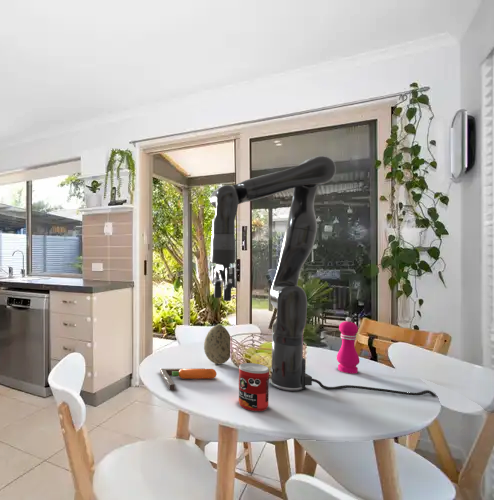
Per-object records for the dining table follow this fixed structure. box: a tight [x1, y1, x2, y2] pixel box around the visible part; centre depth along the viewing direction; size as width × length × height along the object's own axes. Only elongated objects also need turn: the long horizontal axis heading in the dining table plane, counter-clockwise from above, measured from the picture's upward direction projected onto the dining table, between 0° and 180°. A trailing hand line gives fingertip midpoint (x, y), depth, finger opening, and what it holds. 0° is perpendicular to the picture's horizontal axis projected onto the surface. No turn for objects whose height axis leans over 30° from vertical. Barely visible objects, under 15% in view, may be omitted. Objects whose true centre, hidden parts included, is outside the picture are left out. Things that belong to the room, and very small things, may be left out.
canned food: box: [238, 362, 270, 412], centre depth 105 cm, size 8×8×11 cm
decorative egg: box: [203, 324, 231, 365], centre depth 145 cm, size 11×11×15 cm
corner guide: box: [159, 367, 206, 391], centre depth 124 cm, size 16×16×2 cm
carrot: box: [171, 368, 217, 380], centre depth 127 cm, size 15×3×3 cm, turn 95°
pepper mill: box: [336, 316, 360, 375], centre depth 139 cm, size 7×7×20 cm
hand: (222, 299), depth 120 cm, fingers open, 8 cm apart
